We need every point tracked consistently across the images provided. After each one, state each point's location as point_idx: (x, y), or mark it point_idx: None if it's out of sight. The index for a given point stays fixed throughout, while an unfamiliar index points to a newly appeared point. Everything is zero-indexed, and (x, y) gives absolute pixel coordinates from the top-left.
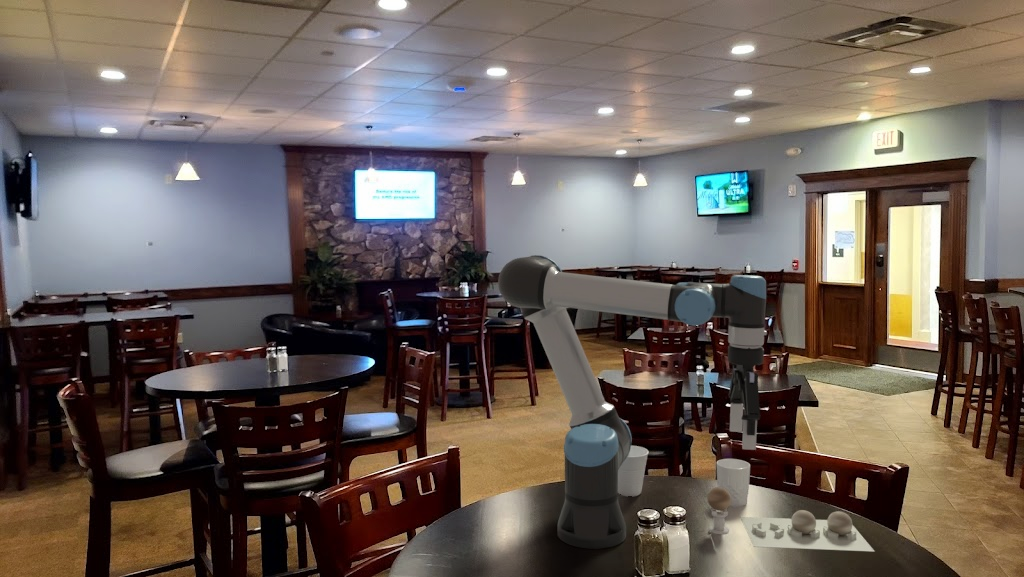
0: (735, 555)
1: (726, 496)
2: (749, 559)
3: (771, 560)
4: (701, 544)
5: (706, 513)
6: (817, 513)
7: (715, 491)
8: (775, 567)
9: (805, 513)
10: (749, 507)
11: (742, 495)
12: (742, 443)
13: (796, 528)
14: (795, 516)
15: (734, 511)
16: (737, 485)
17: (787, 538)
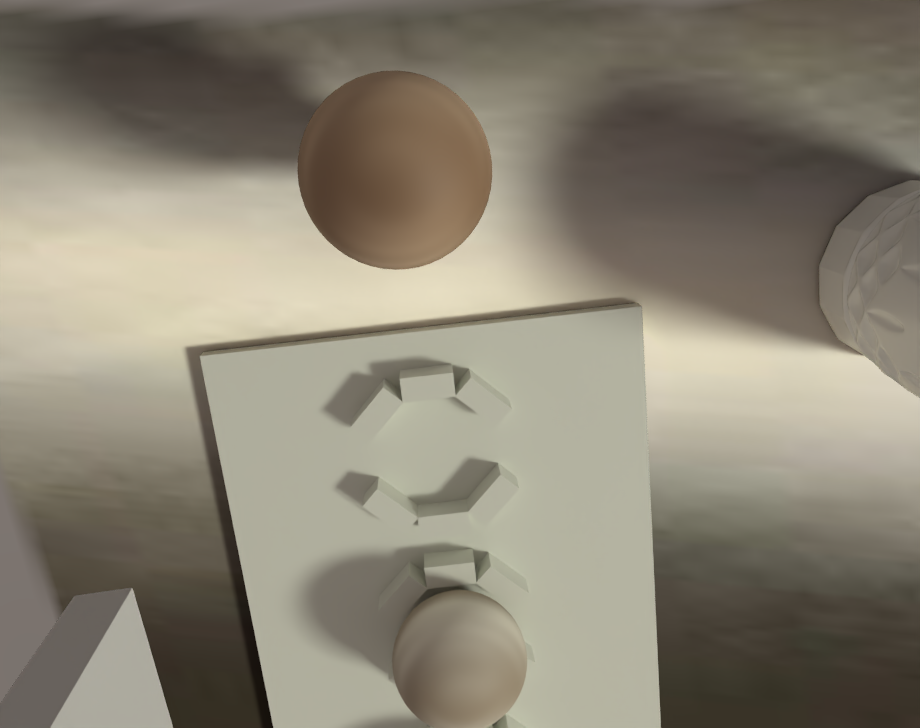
0: (86, 243)
1: (328, 235)
2: (58, 317)
3: (85, 429)
4: (186, 39)
5: (712, 88)
6: (781, 708)
7: (340, 140)
8: (2, 441)
9: (435, 705)
10: (842, 369)
11: (864, 348)
12: (86, 642)
13: (416, 606)
14: (436, 639)
15: (767, 275)
16: (891, 332)
17: (362, 537)
